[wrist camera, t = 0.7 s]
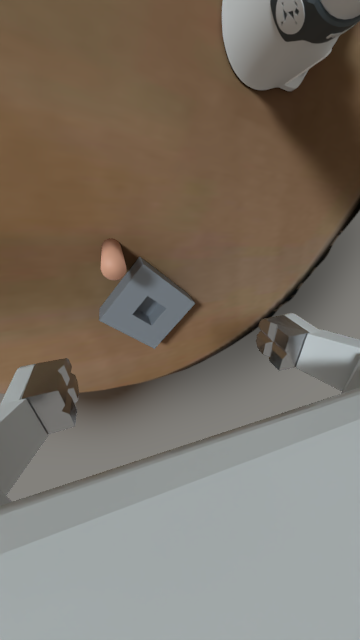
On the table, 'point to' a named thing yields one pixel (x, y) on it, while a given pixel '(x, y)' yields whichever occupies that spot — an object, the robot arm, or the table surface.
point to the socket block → (145, 304)
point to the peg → (112, 260)
